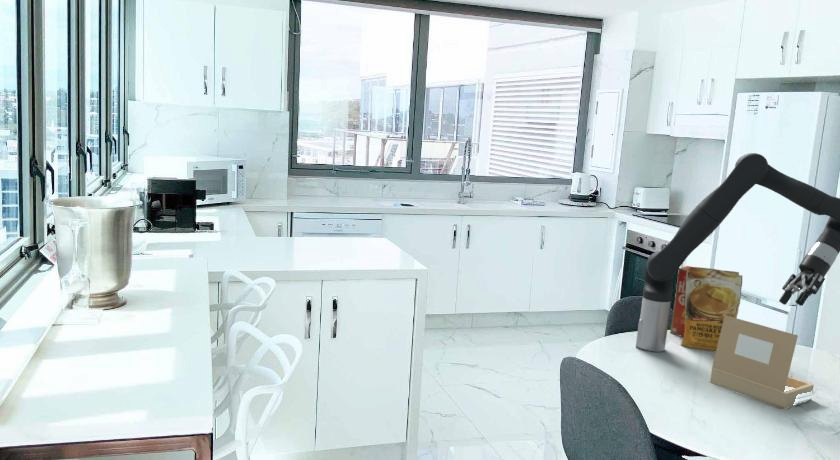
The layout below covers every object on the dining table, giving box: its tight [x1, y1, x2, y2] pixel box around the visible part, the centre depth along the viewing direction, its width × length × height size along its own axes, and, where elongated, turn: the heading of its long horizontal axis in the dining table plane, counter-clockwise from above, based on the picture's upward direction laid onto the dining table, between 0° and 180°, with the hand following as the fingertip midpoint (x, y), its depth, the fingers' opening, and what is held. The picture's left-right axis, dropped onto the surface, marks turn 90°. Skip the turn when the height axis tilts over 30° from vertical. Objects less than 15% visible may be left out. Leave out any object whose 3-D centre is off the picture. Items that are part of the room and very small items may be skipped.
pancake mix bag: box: [680, 266, 743, 353], centre depth 242 cm, size 7×19×28 cm, turn 77°
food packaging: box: [669, 265, 692, 337], centre depth 257 cm, size 13×9×25 cm
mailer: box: [709, 367, 815, 410], centre depth 204 cm, size 16×22×4 cm
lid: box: [711, 315, 799, 392], centre depth 198 cm, size 16×21×1 cm
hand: (790, 303), depth 212 cm, fingers open, 8 cm apart
